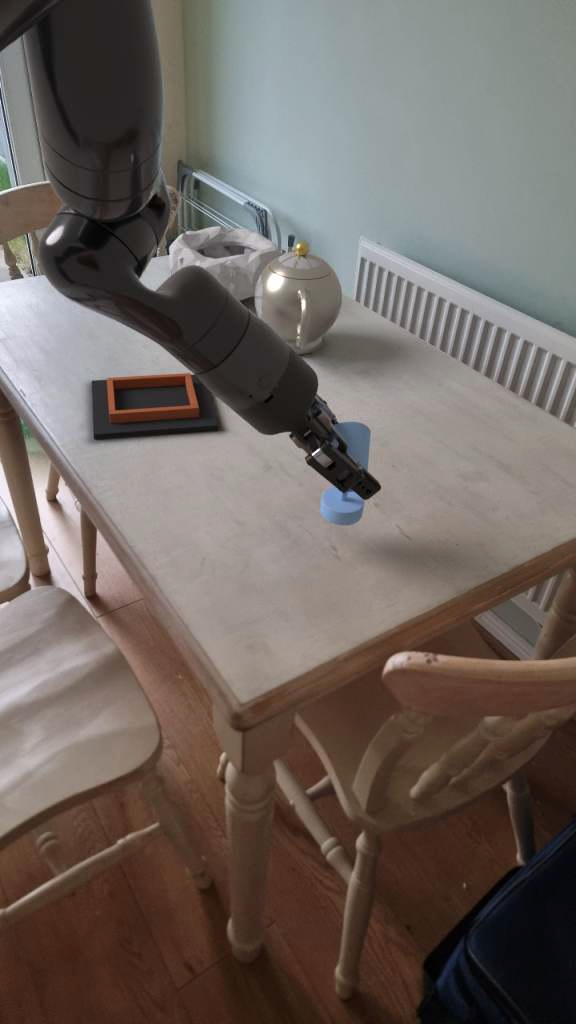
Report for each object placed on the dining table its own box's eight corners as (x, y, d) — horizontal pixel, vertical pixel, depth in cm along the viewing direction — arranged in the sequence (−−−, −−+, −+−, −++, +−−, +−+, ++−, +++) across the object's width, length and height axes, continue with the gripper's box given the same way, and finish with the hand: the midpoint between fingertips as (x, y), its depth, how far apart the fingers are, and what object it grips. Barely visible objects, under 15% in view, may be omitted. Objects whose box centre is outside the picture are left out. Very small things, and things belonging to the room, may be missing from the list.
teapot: (250, 323, 118) (253, 224, 107) (329, 324, 119) (339, 226, 109) (257, 375, 104) (261, 267, 94) (346, 375, 106) (359, 269, 95)
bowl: (155, 279, 130) (151, 224, 124) (256, 269, 137) (258, 216, 131) (187, 326, 116) (185, 266, 109) (299, 312, 123) (303, 255, 116)
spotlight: (313, 488, 76) (322, 530, 71) (323, 410, 69) (333, 449, 64) (357, 488, 76) (369, 529, 71) (371, 410, 70) (385, 449, 65)
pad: (94, 439, 89) (91, 424, 87) (92, 385, 99) (90, 370, 98) (218, 430, 92) (218, 415, 91) (203, 378, 102) (203, 364, 101)
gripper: (211, 361, 67) (315, 452, 77) (237, 445, 56) (354, 538, 67) (268, 308, 65) (367, 409, 75) (306, 385, 54) (416, 490, 64)
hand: (361, 469), depth 71 cm, fingers closed on spotlight, 7 cm apart
